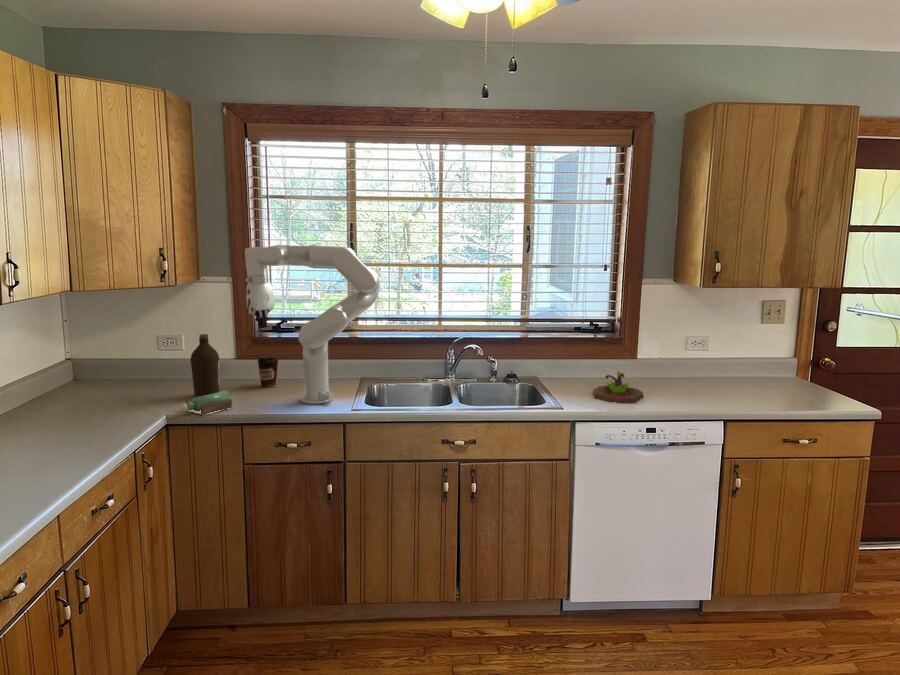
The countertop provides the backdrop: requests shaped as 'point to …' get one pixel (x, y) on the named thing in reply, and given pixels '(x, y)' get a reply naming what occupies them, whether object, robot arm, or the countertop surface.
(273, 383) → the coffee cup
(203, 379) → the olive oil
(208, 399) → the bottle
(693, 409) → the countertop surface
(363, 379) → the countertop surface
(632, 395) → the plant
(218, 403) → the cradle
